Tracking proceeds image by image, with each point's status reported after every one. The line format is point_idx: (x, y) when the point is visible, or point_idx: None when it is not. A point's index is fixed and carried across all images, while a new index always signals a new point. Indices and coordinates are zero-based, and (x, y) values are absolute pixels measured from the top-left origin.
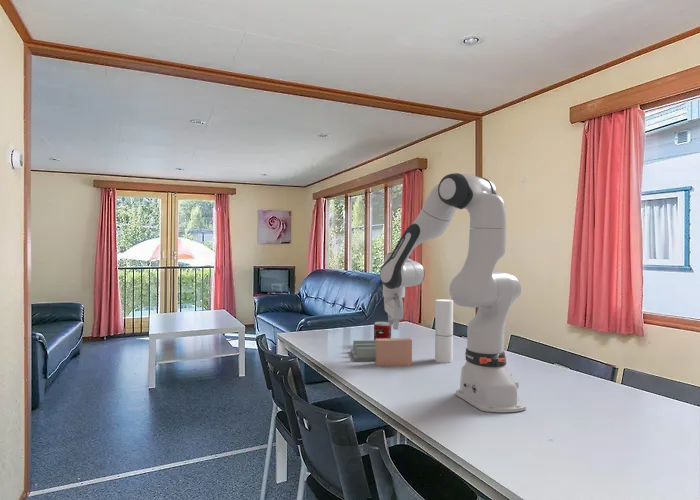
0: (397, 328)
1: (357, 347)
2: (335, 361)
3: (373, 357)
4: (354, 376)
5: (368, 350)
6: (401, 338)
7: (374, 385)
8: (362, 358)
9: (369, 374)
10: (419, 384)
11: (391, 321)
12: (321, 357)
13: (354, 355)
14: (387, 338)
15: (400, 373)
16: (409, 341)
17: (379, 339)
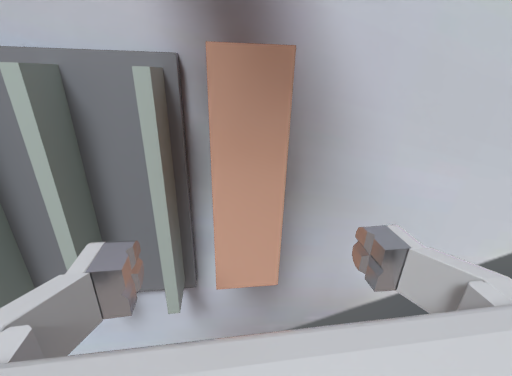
0: (398, 232)
1: None
2: (191, 329)
3: (179, 224)
4: (360, 282)
5: (176, 264)
6: (216, 122)
7: (452, 239)
8: (190, 263)
9: (353, 244)
10: (506, 103)
11: (128, 281)
12: None
13: (141, 288)
14: (215, 224)
15: (370, 142)
16: (291, 70)
17: (243, 271)
